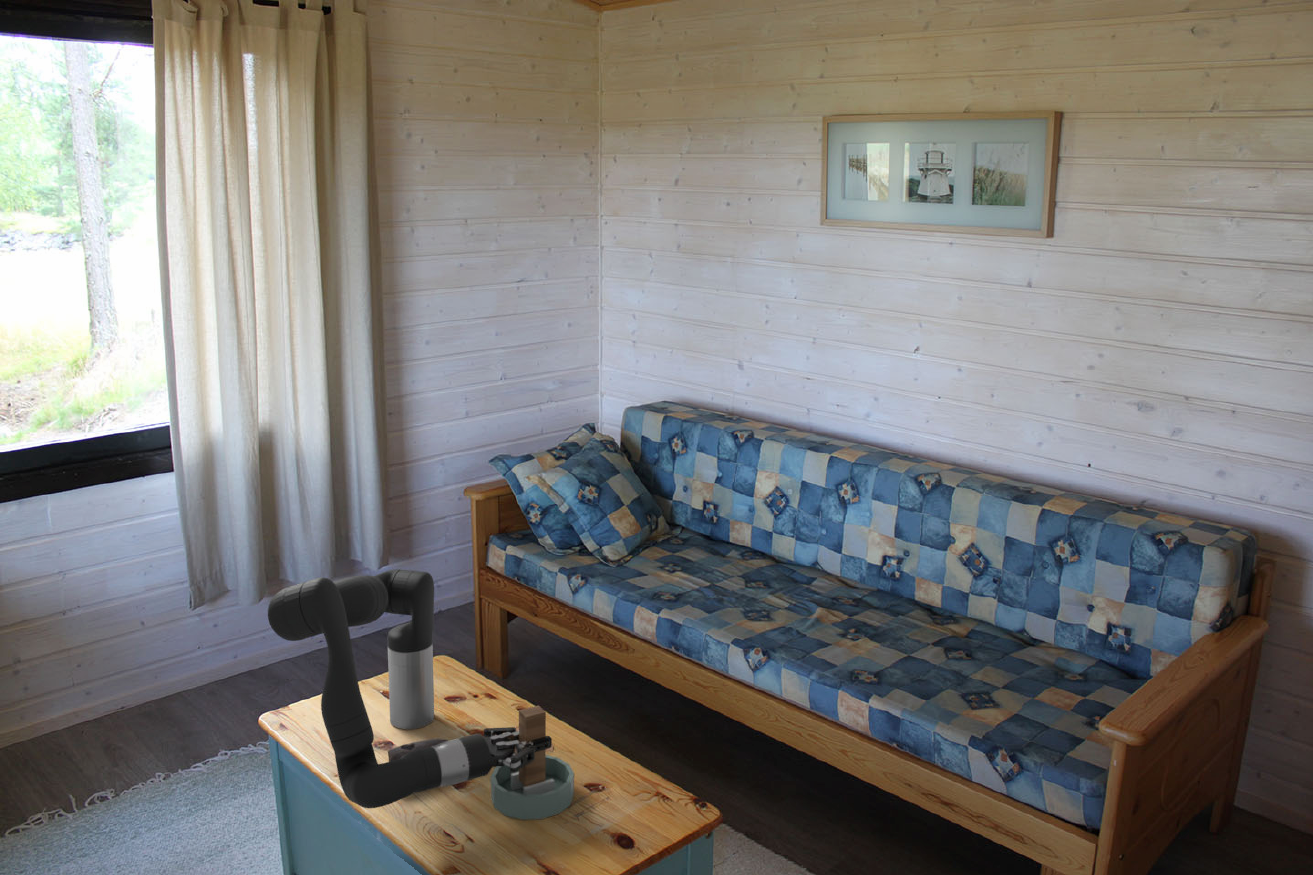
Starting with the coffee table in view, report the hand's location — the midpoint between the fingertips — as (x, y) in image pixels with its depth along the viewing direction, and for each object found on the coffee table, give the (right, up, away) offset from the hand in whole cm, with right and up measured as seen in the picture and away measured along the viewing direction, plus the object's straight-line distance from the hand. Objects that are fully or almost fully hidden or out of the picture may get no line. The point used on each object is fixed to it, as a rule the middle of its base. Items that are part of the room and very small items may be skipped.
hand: (546, 737), depth 201 cm
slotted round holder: (-3, -11, +1) cm, 12 cm away
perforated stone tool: (-25, -10, +8) cm, 28 cm away
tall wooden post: (-3, -8, 0) cm, 9 cm away
